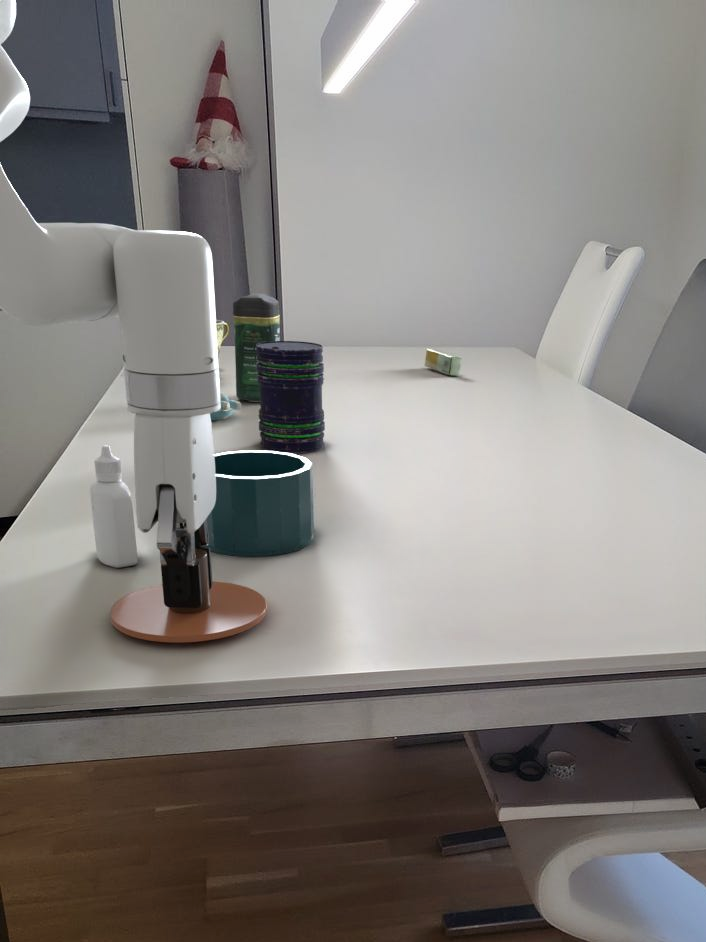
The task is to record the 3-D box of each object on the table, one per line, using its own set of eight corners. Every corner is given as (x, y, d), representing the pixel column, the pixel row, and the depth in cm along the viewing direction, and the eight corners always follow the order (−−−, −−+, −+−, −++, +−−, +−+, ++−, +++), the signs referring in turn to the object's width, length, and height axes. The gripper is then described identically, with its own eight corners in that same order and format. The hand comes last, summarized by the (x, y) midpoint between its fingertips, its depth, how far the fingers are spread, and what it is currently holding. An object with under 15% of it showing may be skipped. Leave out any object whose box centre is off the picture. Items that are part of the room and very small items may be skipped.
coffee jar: (276, 404, 188) (272, 297, 180) (232, 402, 188) (227, 295, 180) (286, 394, 197) (282, 292, 189) (244, 393, 197) (239, 290, 189)
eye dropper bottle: (142, 551, 110) (131, 439, 105) (136, 568, 105) (125, 452, 100) (98, 552, 109) (86, 439, 104) (91, 570, 104) (78, 452, 99)
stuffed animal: (257, 385, 174) (191, 377, 165) (251, 428, 176) (186, 421, 167) (226, 376, 181) (161, 367, 173) (221, 417, 183) (157, 410, 175)
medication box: (460, 376, 225) (462, 357, 224) (449, 375, 224) (452, 357, 223) (434, 366, 235) (436, 348, 233) (423, 366, 233) (425, 347, 232)
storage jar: (292, 436, 164) (289, 339, 158) (338, 446, 159) (337, 346, 153) (245, 446, 157) (240, 344, 151) (292, 456, 151) (289, 352, 146)
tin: (186, 555, 110) (181, 476, 106) (211, 520, 121) (206, 448, 118) (306, 558, 110) (304, 480, 107) (319, 523, 122) (317, 452, 118)
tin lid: (91, 647, 87) (83, 578, 85) (135, 590, 99) (129, 528, 97) (253, 651, 88) (250, 582, 85) (277, 594, 100) (274, 533, 98)
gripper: (153, 373, 93) (169, 566, 100) (96, 408, 78) (120, 632, 85) (237, 376, 93) (247, 568, 101) (197, 411, 78) (212, 634, 85)
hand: (188, 595), depth 93 cm, fingers closed on tin lid, 3 cm apart
